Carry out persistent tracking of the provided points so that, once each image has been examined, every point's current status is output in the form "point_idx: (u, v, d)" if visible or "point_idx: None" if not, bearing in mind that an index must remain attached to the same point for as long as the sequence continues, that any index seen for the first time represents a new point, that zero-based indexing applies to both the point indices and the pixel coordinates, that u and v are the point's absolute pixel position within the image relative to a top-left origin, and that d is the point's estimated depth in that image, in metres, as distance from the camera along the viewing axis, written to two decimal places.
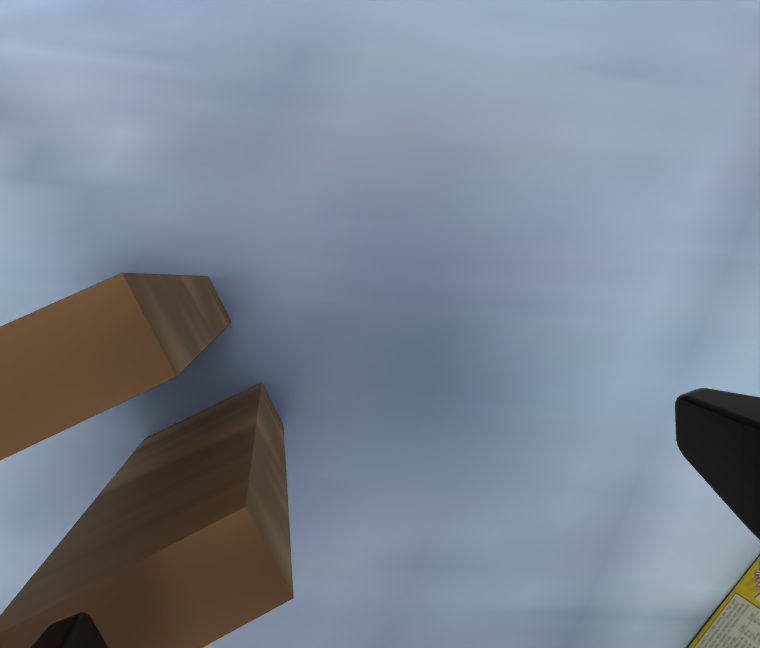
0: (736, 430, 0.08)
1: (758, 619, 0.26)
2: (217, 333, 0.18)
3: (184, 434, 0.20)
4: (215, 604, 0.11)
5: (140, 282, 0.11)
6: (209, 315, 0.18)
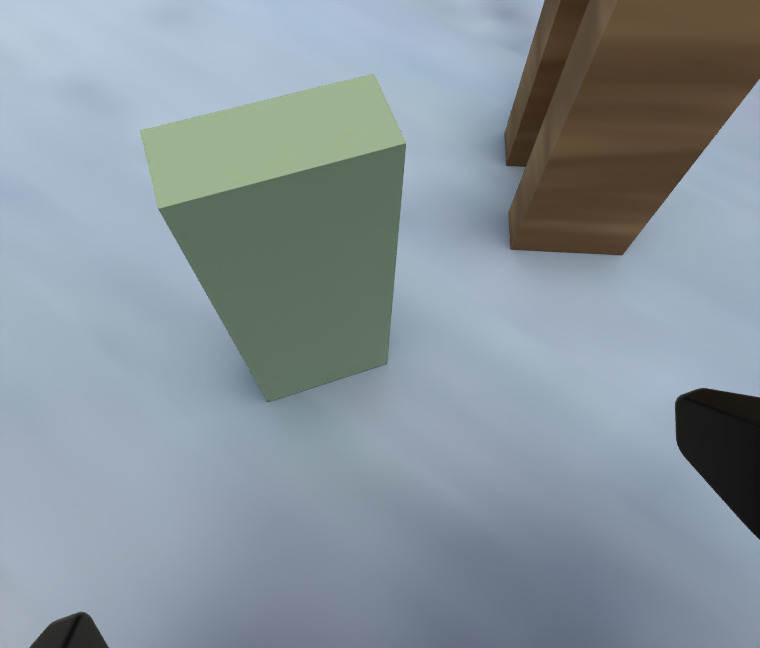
0: (736, 430, 0.08)
1: None
2: None
3: None
4: None
5: None
6: None
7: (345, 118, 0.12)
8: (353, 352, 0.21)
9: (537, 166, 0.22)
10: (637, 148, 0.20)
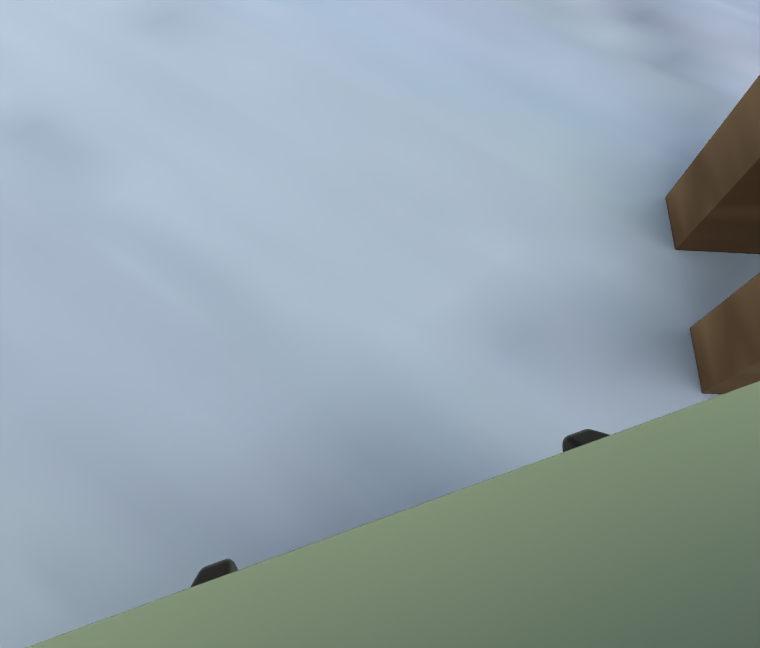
0: None
1: None
2: None
3: None
4: None
5: None
6: None
7: None
8: None
9: None
10: None
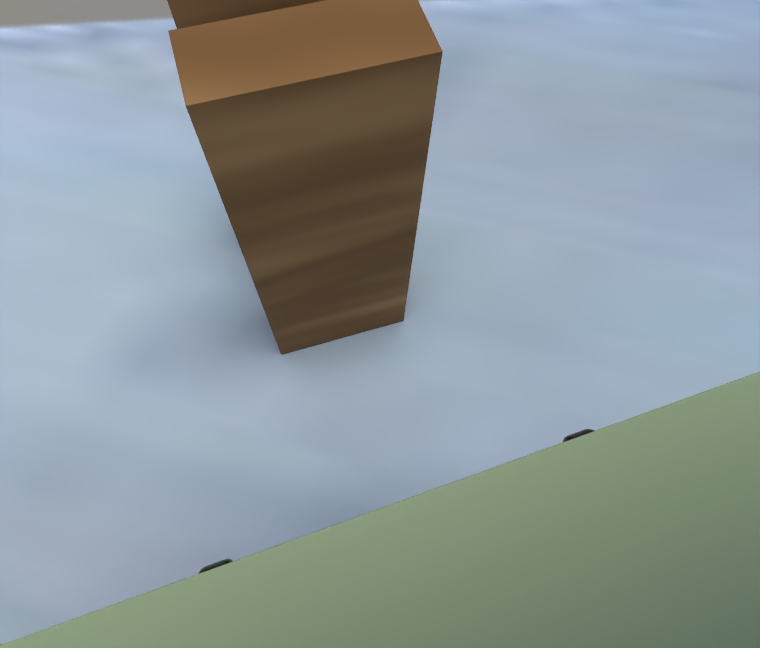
0: None
1: None
2: None
3: None
4: (370, 42, 0.11)
5: None
6: None
7: None
8: None
9: None
10: (343, 245, 0.17)
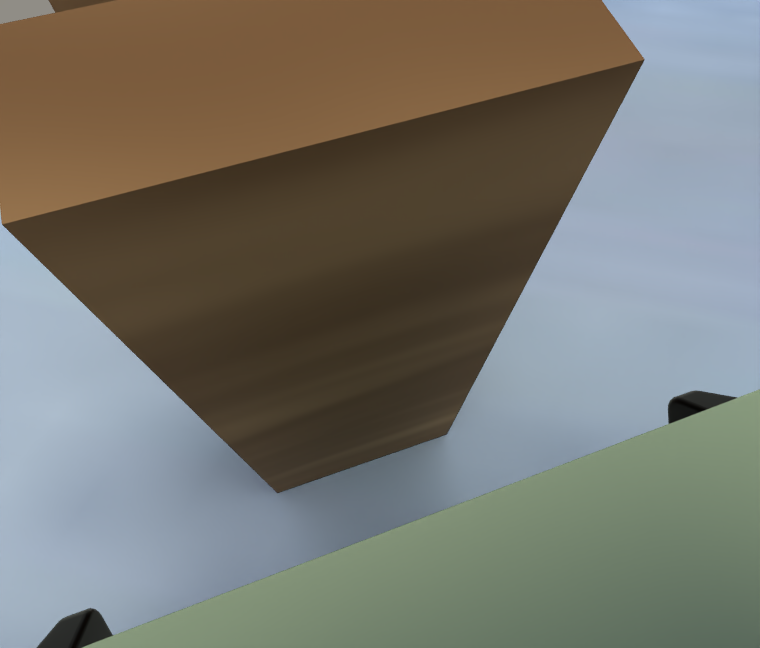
0: None
1: None
2: None
3: None
4: (470, 42, 0.05)
5: None
6: None
7: None
8: None
9: None
10: (375, 383, 0.10)
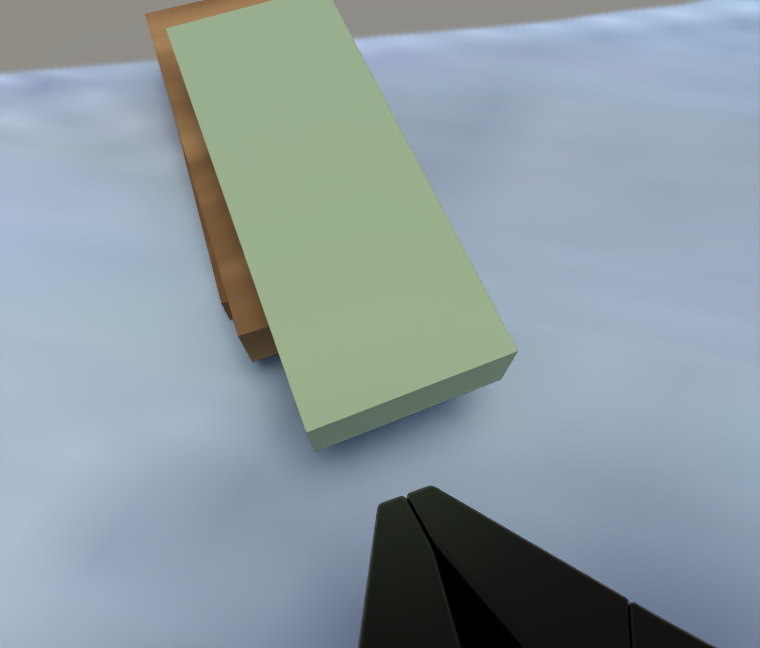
0: None
1: None
2: None
3: None
4: None
5: None
6: None
7: None
8: (418, 282, 0.14)
9: None
10: None
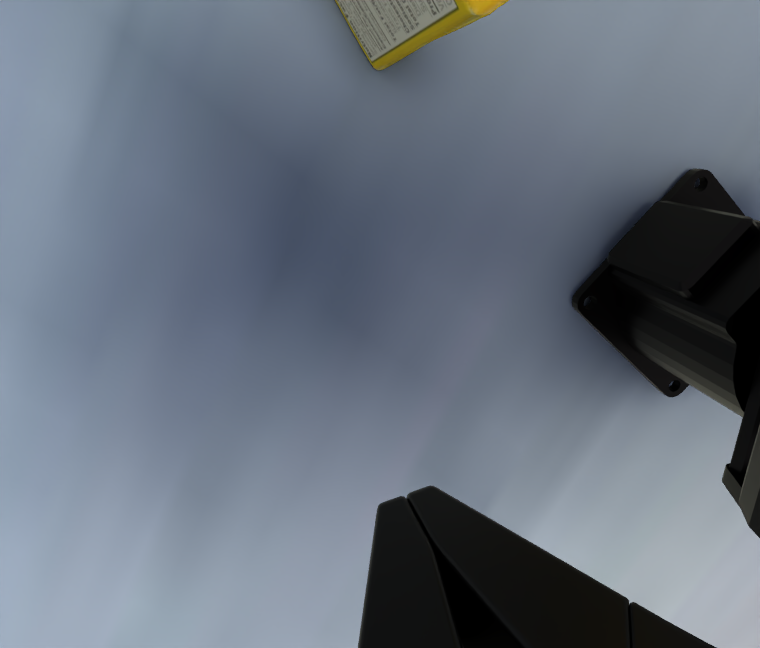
0: None
1: None
2: None
3: None
4: None
5: None
6: None
7: None
8: None
9: None
10: None
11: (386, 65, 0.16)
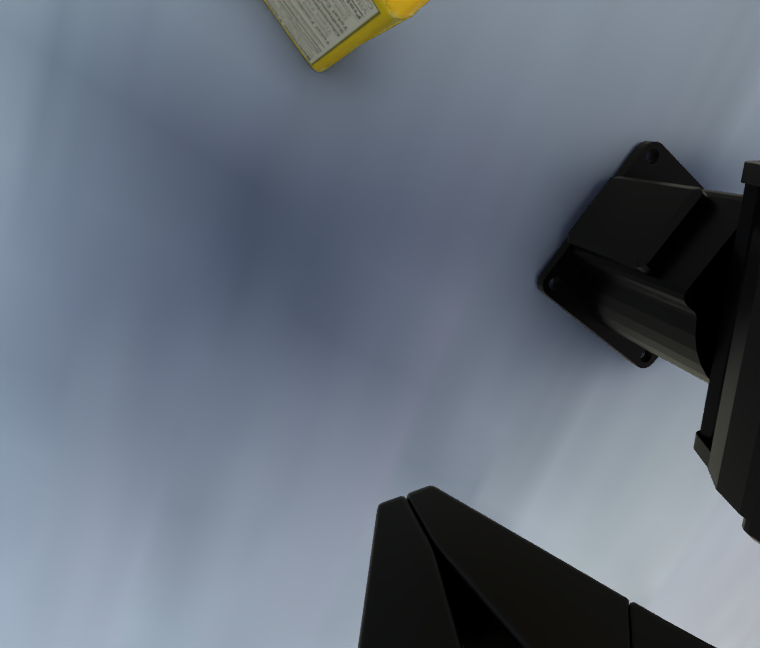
0: None
1: None
2: None
3: None
4: None
5: None
6: None
7: None
8: None
9: None
10: None
11: (325, 67, 0.16)
